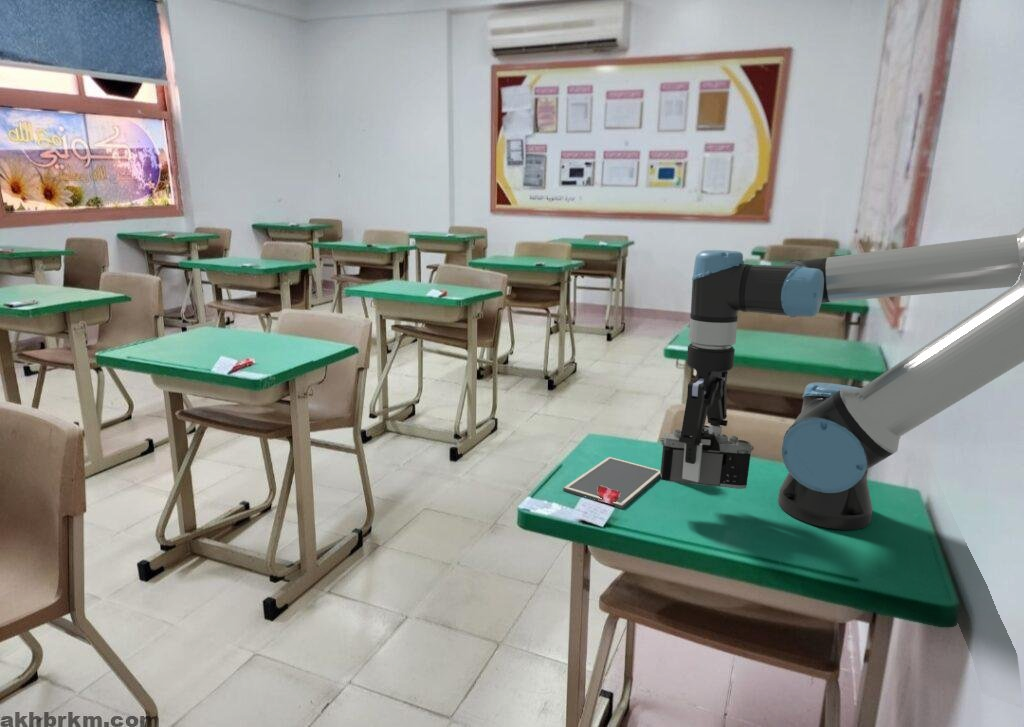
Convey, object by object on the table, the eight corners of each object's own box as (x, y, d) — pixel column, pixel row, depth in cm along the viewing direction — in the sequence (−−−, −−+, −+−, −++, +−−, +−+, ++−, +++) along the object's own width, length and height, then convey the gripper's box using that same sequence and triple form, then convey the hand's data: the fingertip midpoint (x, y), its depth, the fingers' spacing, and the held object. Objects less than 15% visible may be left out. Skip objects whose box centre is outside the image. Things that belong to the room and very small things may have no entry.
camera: (742, 474, 117) (749, 420, 115) (753, 492, 108) (760, 435, 106) (654, 465, 119) (659, 412, 117) (658, 483, 110) (663, 426, 108)
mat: (662, 474, 130) (663, 471, 129) (622, 509, 114) (622, 505, 114) (608, 459, 136) (608, 456, 136) (563, 490, 121) (563, 487, 121)
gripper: (710, 332, 119) (701, 446, 124) (664, 353, 101) (655, 486, 106) (752, 336, 115) (741, 454, 120) (712, 359, 97) (701, 497, 102)
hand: (701, 469), depth 113 cm, fingers closed on camera, 10 cm apart
